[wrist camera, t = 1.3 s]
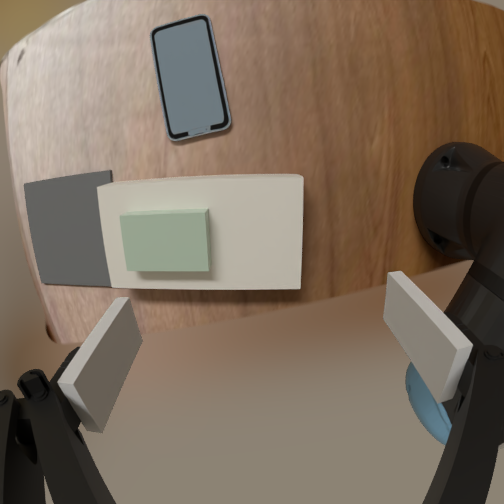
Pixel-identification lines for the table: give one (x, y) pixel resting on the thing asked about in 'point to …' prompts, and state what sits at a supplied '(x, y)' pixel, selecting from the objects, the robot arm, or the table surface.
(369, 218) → the table surface
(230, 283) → the board
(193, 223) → the tile
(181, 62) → the smartphone
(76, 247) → the mat
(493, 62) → the table surface
